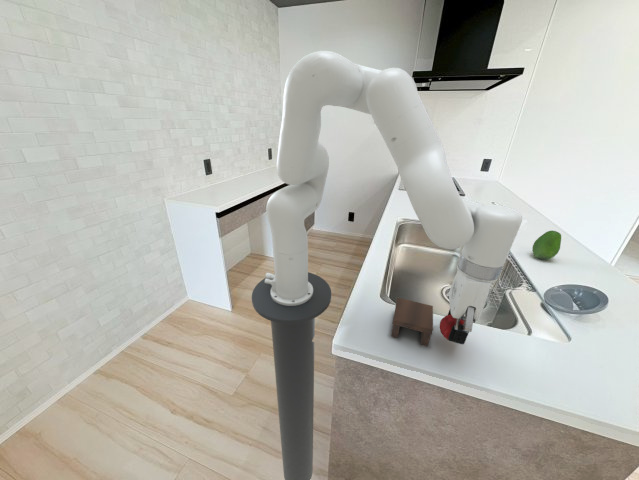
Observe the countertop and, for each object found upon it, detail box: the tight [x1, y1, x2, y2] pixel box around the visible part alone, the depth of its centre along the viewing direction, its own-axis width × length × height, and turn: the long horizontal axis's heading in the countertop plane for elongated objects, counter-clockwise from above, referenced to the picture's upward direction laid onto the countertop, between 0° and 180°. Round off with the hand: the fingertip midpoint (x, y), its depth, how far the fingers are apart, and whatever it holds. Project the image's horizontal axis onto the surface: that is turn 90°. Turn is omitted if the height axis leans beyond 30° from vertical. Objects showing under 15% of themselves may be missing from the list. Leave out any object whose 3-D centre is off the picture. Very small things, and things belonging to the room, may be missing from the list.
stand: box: [390, 297, 434, 347], centre depth 66 cm, size 9×9×6 cm
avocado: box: [531, 230, 562, 261], centre depth 99 cm, size 8×8×12 cm
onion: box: [438, 314, 464, 341], centre depth 60 cm, size 6×6×8 cm
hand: (454, 330), depth 60 cm, fingers closed on onion, 5 cm apart
